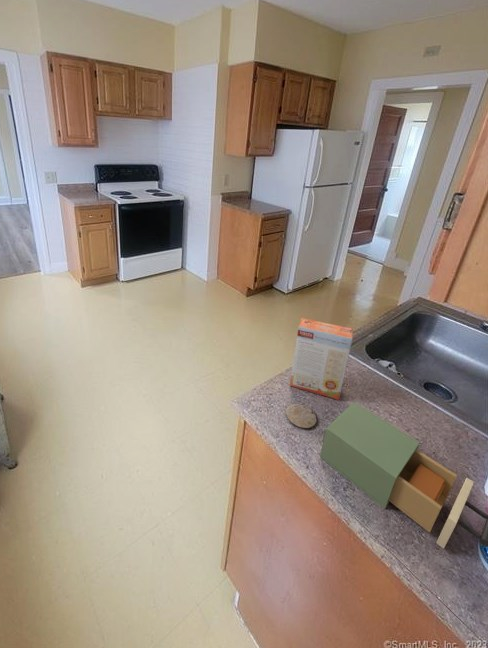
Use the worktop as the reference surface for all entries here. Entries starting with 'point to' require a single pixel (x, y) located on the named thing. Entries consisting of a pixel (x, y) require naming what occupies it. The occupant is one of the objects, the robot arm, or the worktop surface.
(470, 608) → the worktop surface
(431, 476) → the orange block
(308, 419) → the flatbread
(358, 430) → the cabinet
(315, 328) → the cracker box
